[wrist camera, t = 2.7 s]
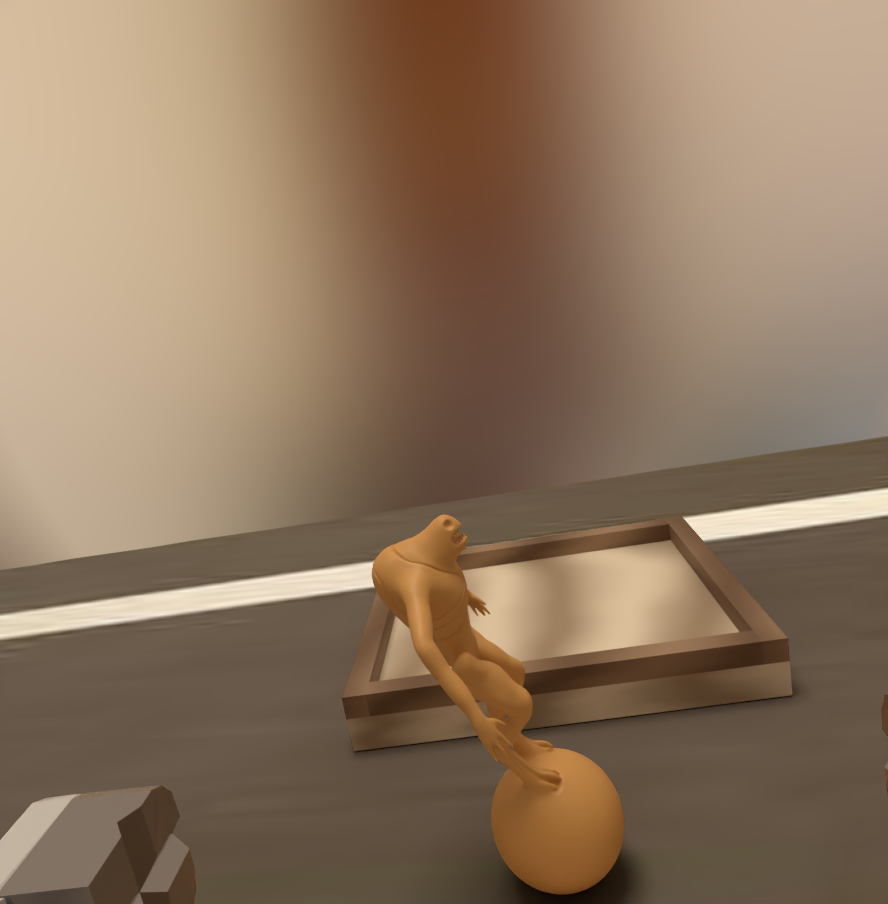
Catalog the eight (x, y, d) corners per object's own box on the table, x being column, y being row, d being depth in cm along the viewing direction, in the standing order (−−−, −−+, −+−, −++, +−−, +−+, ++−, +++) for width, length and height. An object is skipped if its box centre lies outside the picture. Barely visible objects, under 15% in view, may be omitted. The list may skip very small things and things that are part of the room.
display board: (353, 751, 32) (342, 697, 31) (395, 597, 47) (387, 559, 47) (792, 695, 30) (787, 638, 30) (685, 555, 46) (681, 516, 45)
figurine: (671, 984, 19) (612, 541, 17) (437, 1020, 19) (345, 585, 17) (601, 779, 27) (554, 459, 25) (436, 805, 28) (374, 490, 25)
